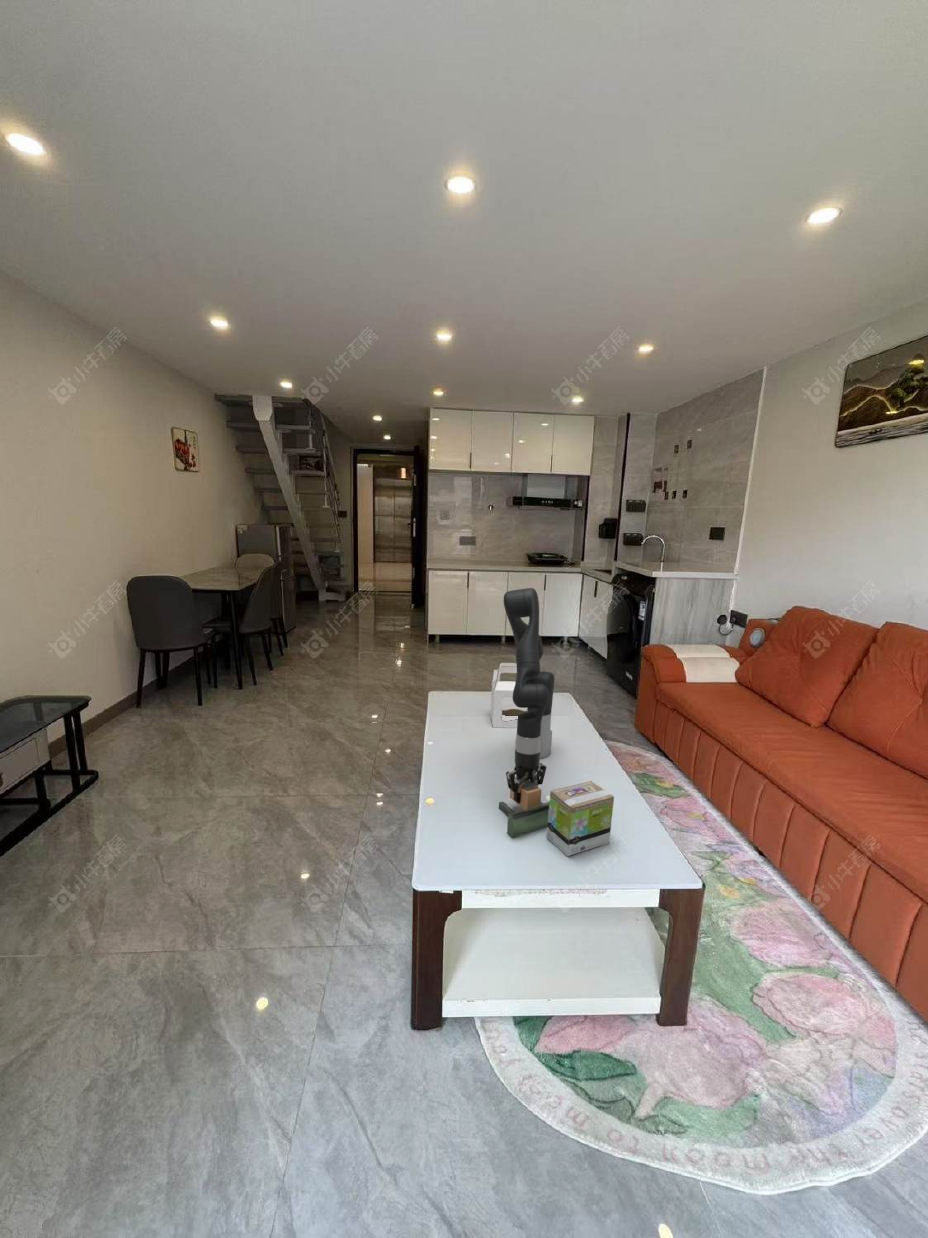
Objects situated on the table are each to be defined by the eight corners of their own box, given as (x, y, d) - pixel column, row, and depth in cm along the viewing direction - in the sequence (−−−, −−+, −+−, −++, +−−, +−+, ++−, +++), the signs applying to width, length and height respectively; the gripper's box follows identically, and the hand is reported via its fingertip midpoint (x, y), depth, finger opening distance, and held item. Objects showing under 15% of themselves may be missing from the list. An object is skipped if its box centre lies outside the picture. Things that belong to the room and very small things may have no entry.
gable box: (492, 728, 219) (494, 666, 214) (490, 716, 232) (492, 658, 227) (542, 729, 220) (545, 667, 215) (537, 717, 233) (540, 659, 228)
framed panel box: (522, 794, 159) (523, 775, 157) (540, 807, 151) (541, 788, 150) (509, 797, 156) (510, 778, 155) (527, 812, 148) (528, 791, 147)
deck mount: (541, 795, 164) (543, 775, 163) (573, 819, 151) (574, 797, 150) (485, 812, 153) (485, 790, 152) (513, 839, 140) (514, 816, 139)
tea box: (568, 858, 133) (572, 807, 130) (545, 838, 142) (548, 789, 139) (610, 843, 140) (615, 795, 137) (586, 824, 149) (590, 778, 146)
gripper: (539, 739, 157) (536, 789, 160) (501, 747, 150) (498, 799, 153) (554, 748, 151) (551, 800, 154) (515, 757, 144) (512, 811, 147)
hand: (524, 799), depth 153 cm, fingers closed on framed panel box, 5 cm apart
